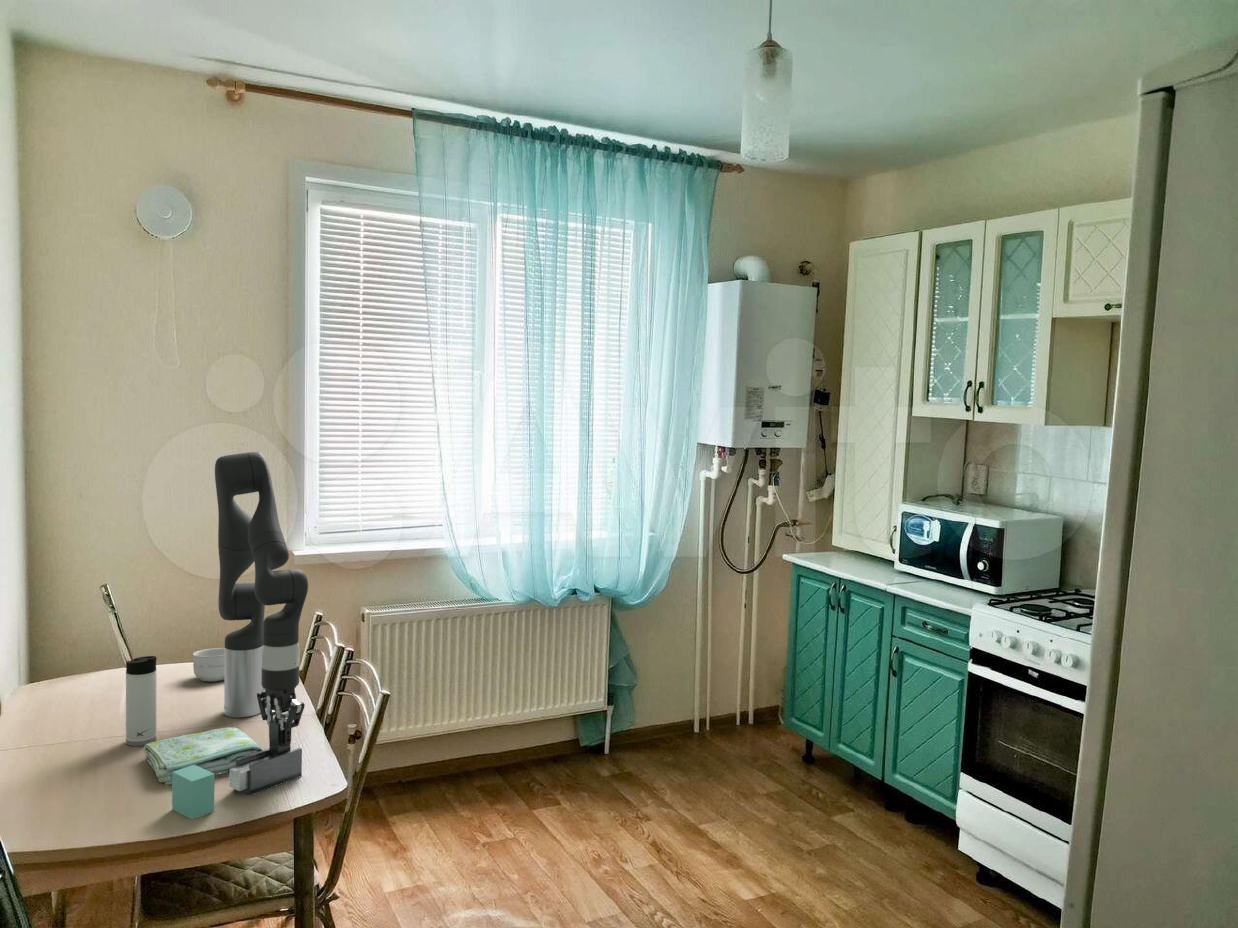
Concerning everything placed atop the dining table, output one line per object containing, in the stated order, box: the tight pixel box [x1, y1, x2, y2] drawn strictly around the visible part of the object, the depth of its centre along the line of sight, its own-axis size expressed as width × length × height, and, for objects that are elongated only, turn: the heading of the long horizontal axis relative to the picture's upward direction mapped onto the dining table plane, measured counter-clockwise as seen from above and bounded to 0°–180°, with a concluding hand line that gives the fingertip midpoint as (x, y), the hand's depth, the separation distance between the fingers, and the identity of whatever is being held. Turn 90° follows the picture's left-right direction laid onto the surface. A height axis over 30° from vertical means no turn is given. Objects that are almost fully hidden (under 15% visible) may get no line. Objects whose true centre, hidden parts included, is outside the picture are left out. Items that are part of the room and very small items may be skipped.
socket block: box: [171, 765, 215, 820], centre depth 174 cm, size 4×7×8 cm, turn 56°
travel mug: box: [125, 655, 157, 747], centre depth 207 cm, size 6×7×20 cm
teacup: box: [192, 647, 225, 682], centre depth 254 cm, size 14×11×8 cm
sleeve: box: [236, 747, 303, 796], centre depth 188 cm, size 12×5×6 cm, turn 146°
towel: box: [143, 727, 263, 785], centre depth 198 cm, size 18×21×5 cm
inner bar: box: [228, 718, 292, 792], centre depth 187 cm, size 14×4×11 cm, turn 146°
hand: (279, 743), depth 190 cm, fingers closed on inner bar, 3 cm apart
